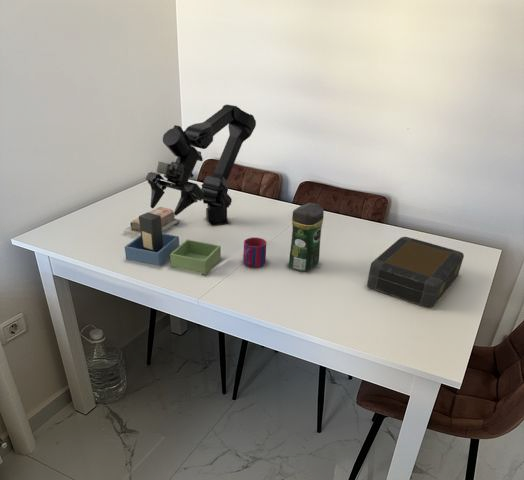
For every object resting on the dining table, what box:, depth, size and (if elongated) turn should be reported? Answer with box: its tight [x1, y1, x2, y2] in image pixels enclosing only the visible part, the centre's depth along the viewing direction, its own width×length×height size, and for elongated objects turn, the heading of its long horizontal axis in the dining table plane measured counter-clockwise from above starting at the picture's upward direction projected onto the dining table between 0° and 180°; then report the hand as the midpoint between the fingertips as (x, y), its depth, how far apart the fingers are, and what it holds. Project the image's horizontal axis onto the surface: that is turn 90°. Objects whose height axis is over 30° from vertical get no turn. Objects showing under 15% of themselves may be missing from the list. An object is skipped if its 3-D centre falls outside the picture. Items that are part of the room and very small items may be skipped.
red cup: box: [242, 237, 267, 269], centre depth 148 cm, size 7×10×7 cm
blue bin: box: [124, 232, 180, 267], centre depth 152 cm, size 13×11×5 cm
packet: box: [138, 211, 163, 252], centre depth 149 cm, size 4×5×12 cm
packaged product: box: [123, 206, 181, 238], centre depth 167 cm, size 18×5×10 cm
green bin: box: [169, 239, 222, 276], centre depth 148 cm, size 11×11×5 cm
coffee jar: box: [288, 202, 325, 272], centre depth 146 cm, size 10×8×19 cm
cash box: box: [366, 236, 465, 308], centre depth 143 cm, size 25×20×8 cm
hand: (163, 211), depth 150 cm, fingers open, 9 cm apart
